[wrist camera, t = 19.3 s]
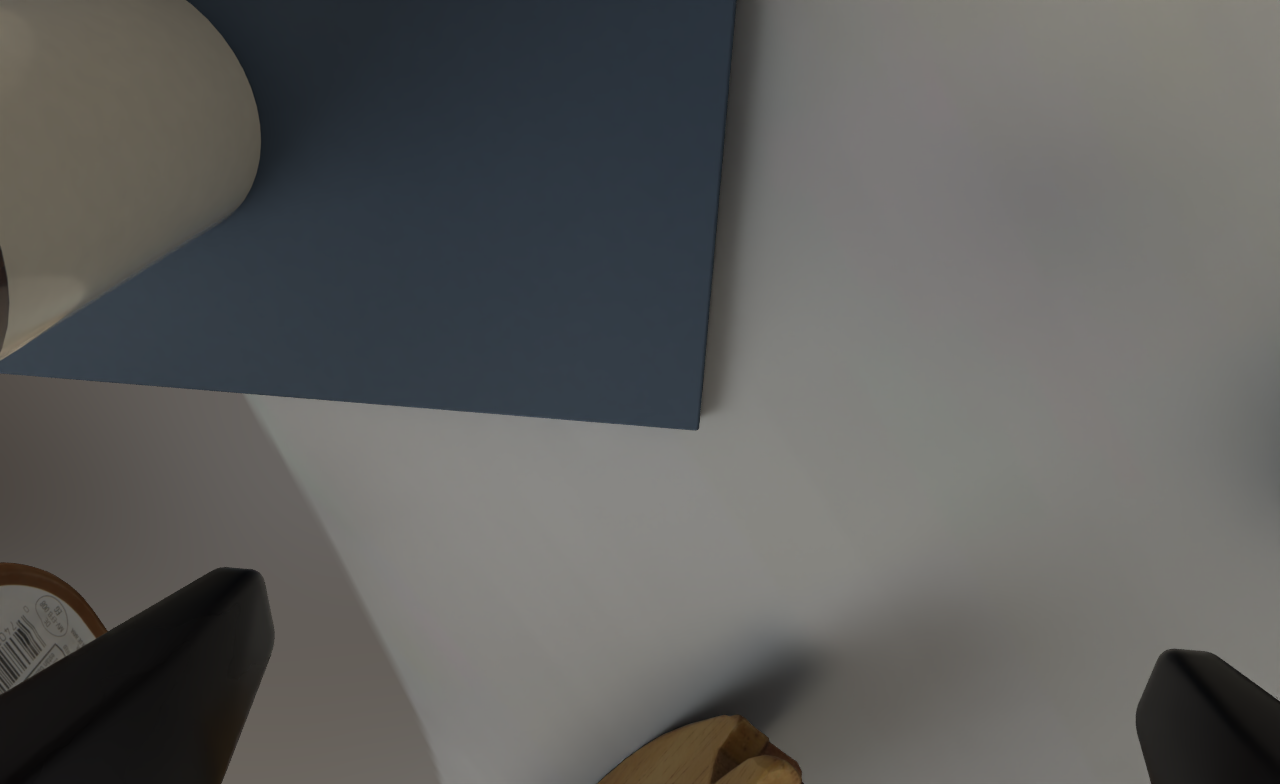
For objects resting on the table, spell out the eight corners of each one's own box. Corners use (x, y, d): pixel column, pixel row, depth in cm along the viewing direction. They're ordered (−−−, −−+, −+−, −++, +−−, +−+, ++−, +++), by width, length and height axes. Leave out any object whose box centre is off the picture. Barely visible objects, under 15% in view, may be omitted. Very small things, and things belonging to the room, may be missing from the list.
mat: (752, -185, 17) (753, -189, 16) (699, 419, 23) (698, 431, 22) (-264, -231, 18) (-293, -235, 17) (-51, 358, 24) (-68, 368, 23)
